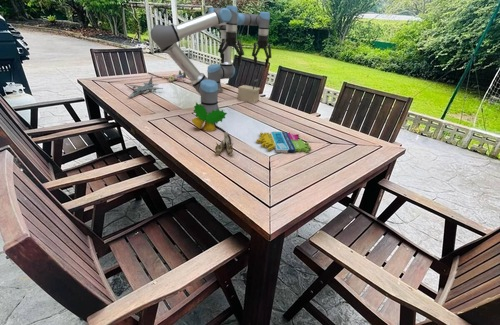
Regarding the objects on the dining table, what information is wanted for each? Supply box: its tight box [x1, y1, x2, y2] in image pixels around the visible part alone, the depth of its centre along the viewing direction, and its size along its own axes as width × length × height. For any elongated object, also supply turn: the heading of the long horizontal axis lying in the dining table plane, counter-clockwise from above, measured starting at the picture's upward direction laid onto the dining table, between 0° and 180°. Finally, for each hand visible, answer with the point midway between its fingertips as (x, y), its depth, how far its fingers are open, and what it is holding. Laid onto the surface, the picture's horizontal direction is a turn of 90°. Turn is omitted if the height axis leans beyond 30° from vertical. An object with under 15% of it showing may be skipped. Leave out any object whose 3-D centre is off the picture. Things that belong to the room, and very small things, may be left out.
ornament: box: [191, 102, 228, 132], centre depth 162 cm, size 21×8×15 cm, turn 105°
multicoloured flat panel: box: [256, 131, 312, 154], centre depth 152 cm, size 26×2×30 cm
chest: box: [237, 88, 260, 104], centre depth 223 cm, size 15×10×10 cm, turn 64°
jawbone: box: [214, 131, 234, 156], centre depth 136 cm, size 9×15×10 cm
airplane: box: [127, 75, 164, 99], centre depth 224 cm, size 38×31×10 cm
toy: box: [161, 70, 187, 82], centre depth 276 cm, size 28×7×30 cm
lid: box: [237, 78, 261, 92], centre depth 219 cm, size 16×10×8 cm, turn 64°
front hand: (230, 64), depth 190 cm, fingers open, 13 cm apart
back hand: (260, 66), depth 208 cm, fingers open, 9 cm apart
